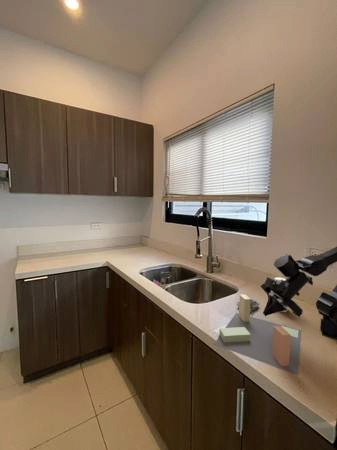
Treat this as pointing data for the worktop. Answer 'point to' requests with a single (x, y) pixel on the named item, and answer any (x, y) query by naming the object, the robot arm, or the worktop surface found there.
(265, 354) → the mat
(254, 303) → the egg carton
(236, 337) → the sage tile
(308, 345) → the worktop surface
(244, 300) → the sand tile
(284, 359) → the terracotta tile
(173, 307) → the worktop surface
